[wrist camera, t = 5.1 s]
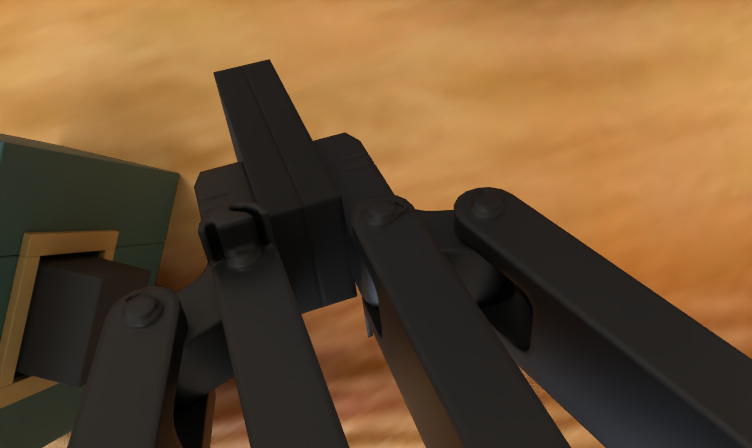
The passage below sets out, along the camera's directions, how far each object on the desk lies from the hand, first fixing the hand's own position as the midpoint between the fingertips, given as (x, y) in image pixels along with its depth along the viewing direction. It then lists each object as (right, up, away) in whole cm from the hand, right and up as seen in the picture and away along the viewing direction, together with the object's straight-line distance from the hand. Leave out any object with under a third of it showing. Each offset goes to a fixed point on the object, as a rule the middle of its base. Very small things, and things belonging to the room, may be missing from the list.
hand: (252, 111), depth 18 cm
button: (-9, -6, +10) cm, 14 cm away
